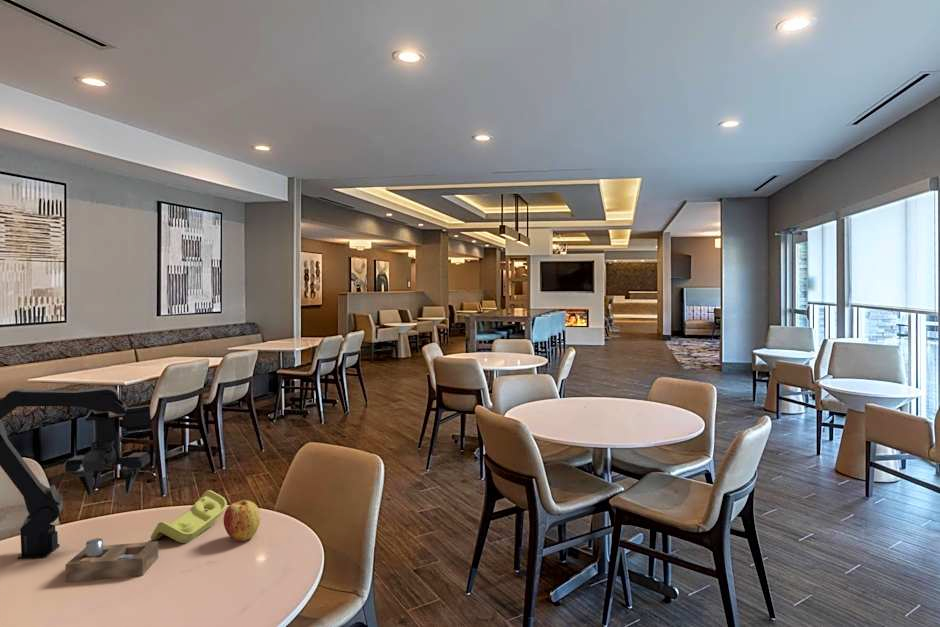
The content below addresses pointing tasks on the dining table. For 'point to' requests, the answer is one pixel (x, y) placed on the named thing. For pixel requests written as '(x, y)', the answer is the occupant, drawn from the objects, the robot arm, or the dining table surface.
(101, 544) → the plug
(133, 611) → the dining table surface
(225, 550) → the dining table surface
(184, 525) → the plastic component
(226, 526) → the apple
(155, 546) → the board
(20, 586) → the dining table surface
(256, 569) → the dining table surface
